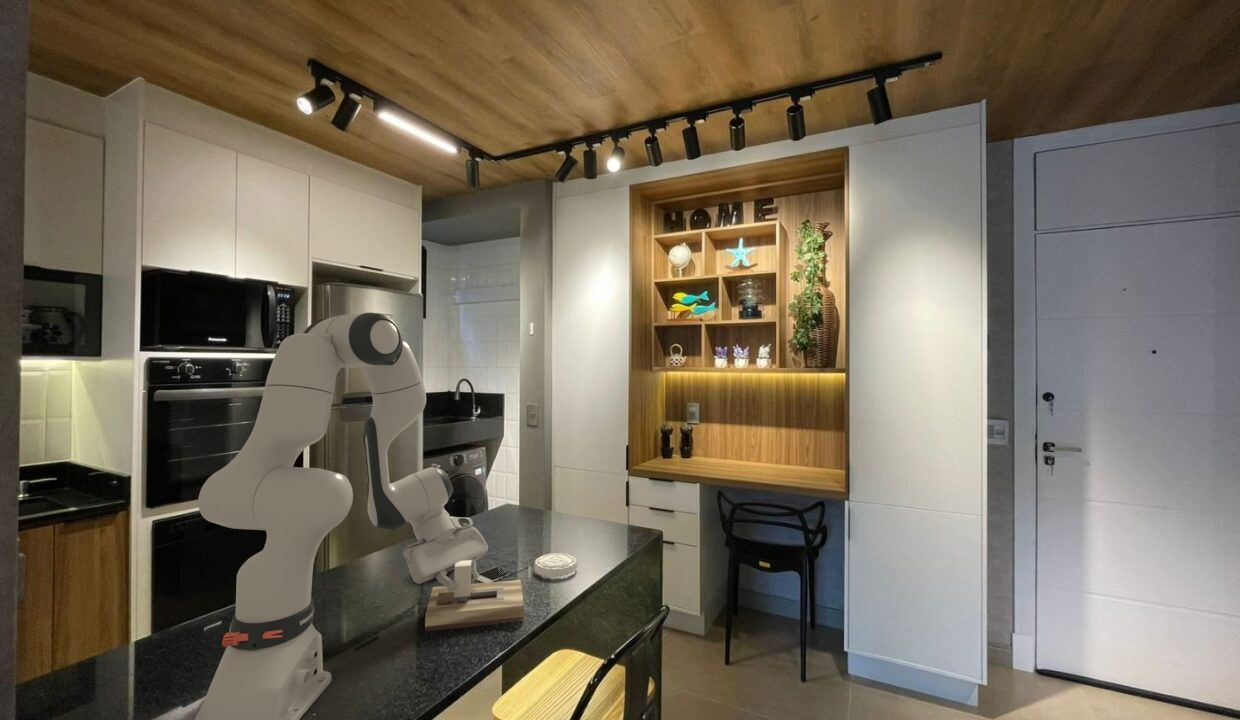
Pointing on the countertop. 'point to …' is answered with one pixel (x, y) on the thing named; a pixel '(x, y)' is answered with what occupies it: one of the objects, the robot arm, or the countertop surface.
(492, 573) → the smartphone
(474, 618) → the keyhole plate
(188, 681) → the countertop surface
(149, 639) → the countertop surface
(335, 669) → the countertop surface
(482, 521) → the countertop surface
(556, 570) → the container lid
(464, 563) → the cream peg
